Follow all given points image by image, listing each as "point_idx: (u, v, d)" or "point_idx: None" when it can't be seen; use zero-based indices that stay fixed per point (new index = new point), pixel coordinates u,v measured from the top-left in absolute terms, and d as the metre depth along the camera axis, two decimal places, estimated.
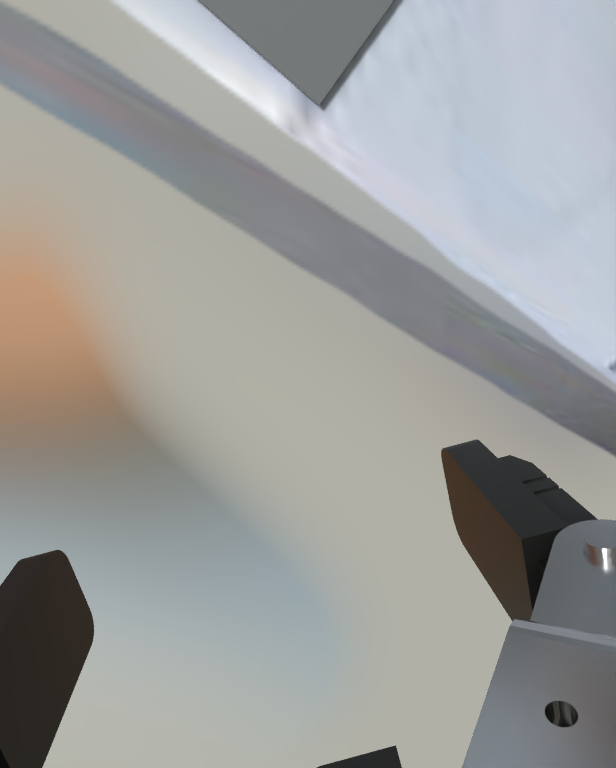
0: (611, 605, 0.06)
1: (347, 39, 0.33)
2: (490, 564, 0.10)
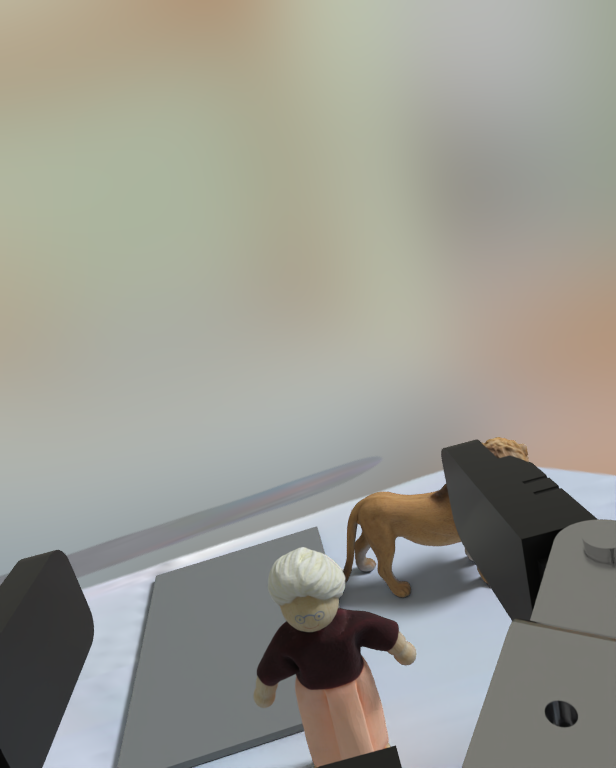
0: (611, 605, 0.06)
1: (161, 602, 0.43)
2: (490, 564, 0.10)
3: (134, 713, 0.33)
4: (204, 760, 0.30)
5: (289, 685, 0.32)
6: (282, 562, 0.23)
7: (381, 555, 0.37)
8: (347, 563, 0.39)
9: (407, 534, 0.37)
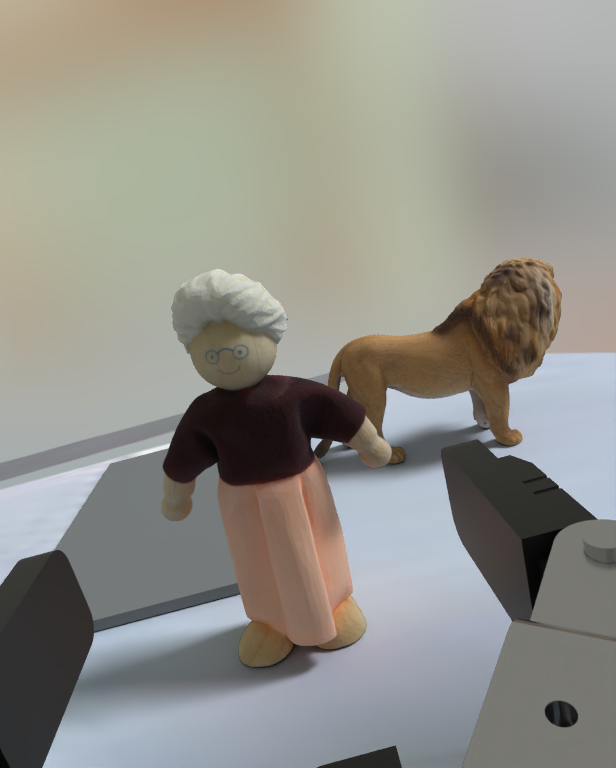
0: (611, 605, 0.06)
1: (108, 484, 0.36)
2: (490, 564, 0.10)
3: None
4: (112, 622, 0.22)
5: None
6: (192, 279, 0.16)
7: (369, 409, 0.30)
8: None
9: (401, 380, 0.29)
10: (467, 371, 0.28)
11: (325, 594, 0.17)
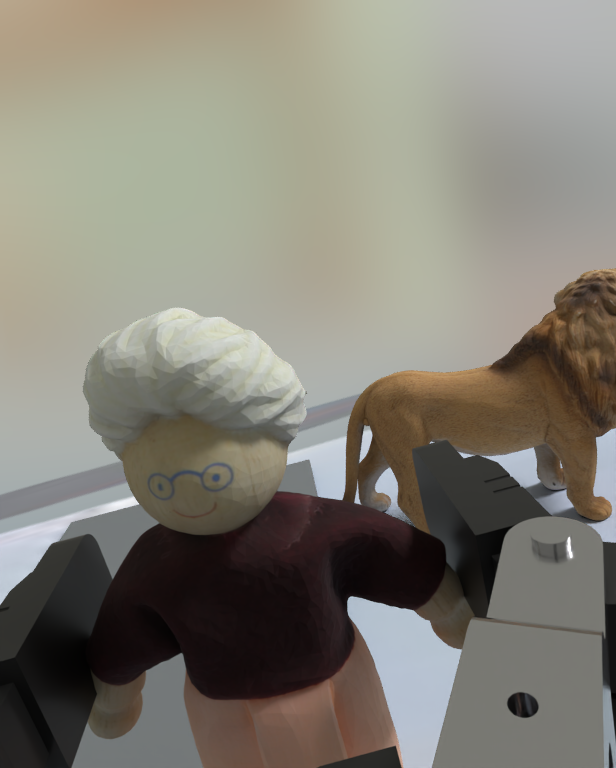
0: (560, 597, 0.06)
1: None
2: (454, 560, 0.10)
3: None
4: None
5: None
6: None
7: (405, 472, 0.22)
8: (346, 494, 0.24)
9: (450, 434, 0.22)
10: (542, 422, 0.21)
11: None
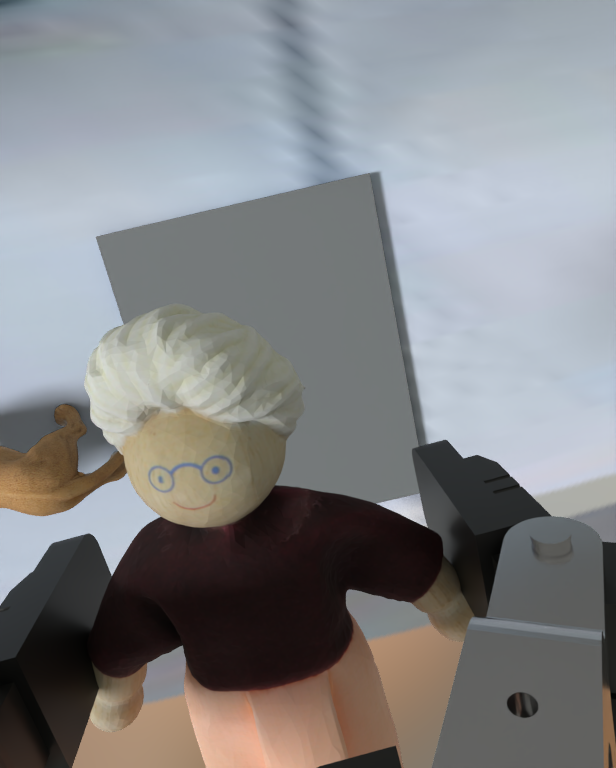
0: (560, 598, 0.06)
1: (400, 435, 0.32)
2: (454, 560, 0.10)
3: (377, 260, 0.29)
4: (275, 195, 0.28)
5: (190, 271, 0.28)
6: None
7: (62, 434, 0.28)
8: None
9: (12, 452, 0.26)
10: None
11: None
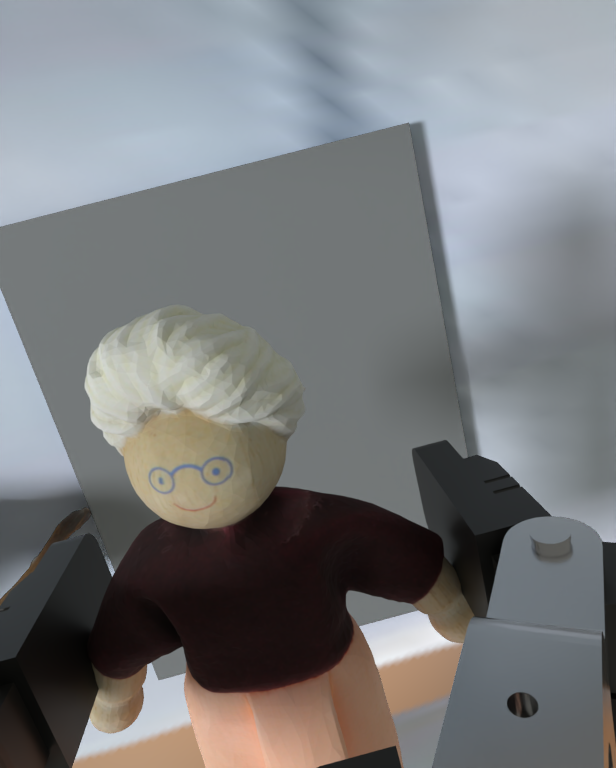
0: (559, 597, 0.06)
1: None
2: (454, 560, 0.10)
3: (420, 259, 0.19)
4: (261, 161, 0.18)
5: (132, 284, 0.18)
6: (124, 325, 0.08)
7: None
8: None
9: None
10: None
11: None
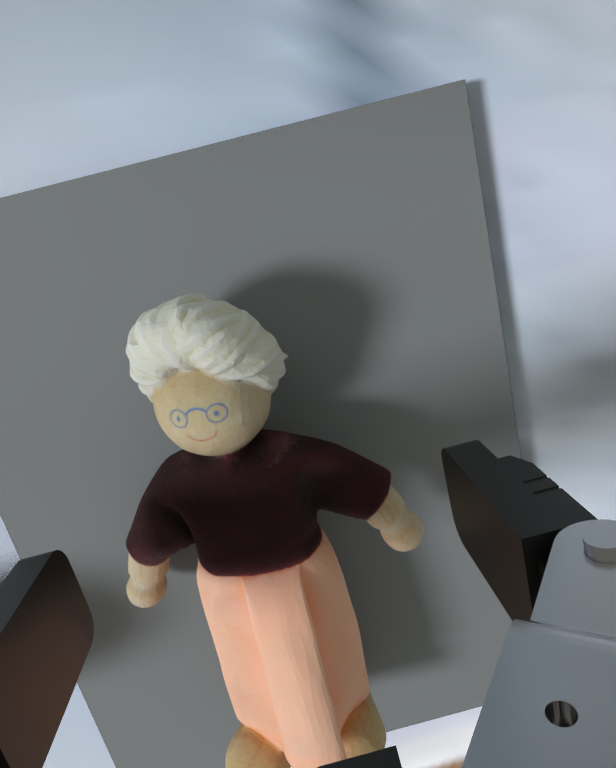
0: (610, 605, 0.06)
1: None
2: (490, 564, 0.10)
3: (476, 267, 0.14)
4: (261, 133, 0.13)
5: (86, 301, 0.13)
6: (153, 308, 0.12)
7: None
8: None
9: None
10: None
11: (332, 715, 0.13)
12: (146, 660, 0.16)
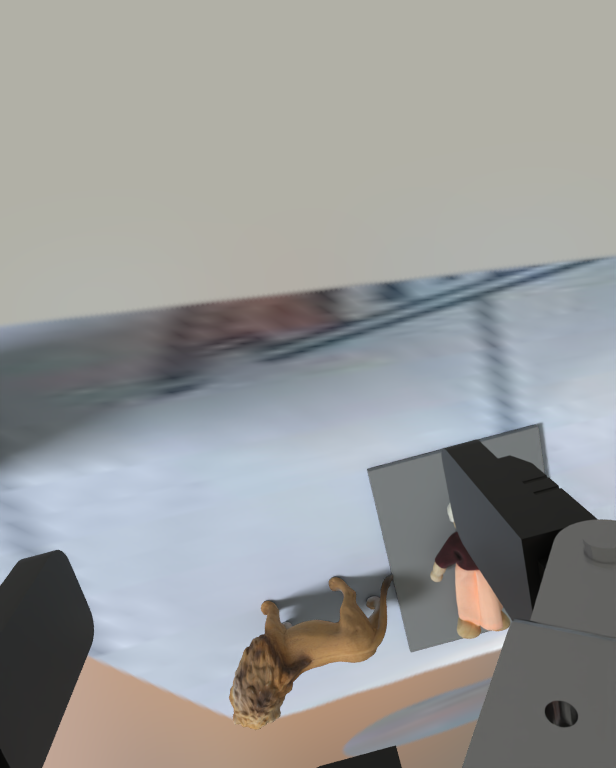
0: (611, 605, 0.06)
1: None
2: (490, 564, 0.10)
3: None
4: None
5: (423, 488, 0.45)
6: None
7: (350, 603, 0.44)
8: (384, 595, 0.46)
9: (329, 624, 0.43)
10: (287, 633, 0.43)
11: (500, 610, 0.45)
12: (424, 600, 0.48)
